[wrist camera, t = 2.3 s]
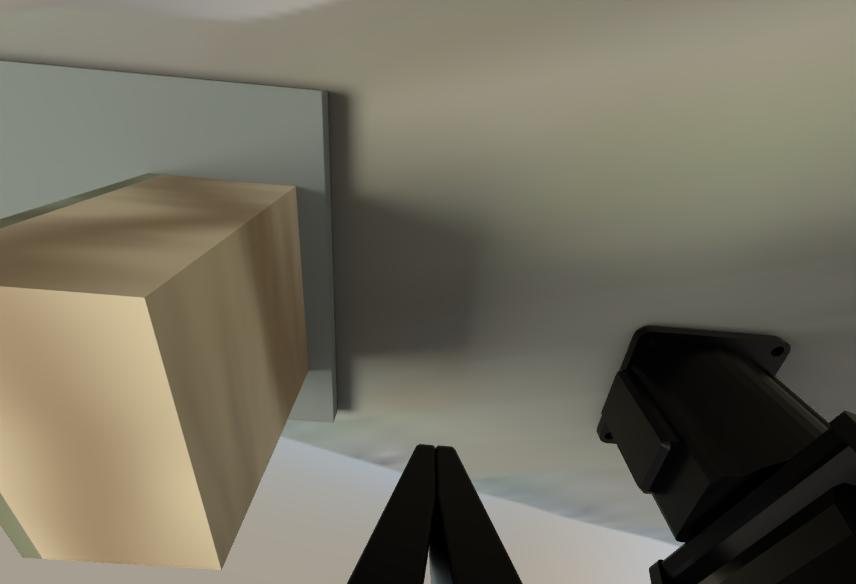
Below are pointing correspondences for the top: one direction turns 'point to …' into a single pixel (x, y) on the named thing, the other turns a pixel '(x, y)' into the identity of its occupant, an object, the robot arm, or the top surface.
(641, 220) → the top surface
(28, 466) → the tile block
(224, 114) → the slate mat
